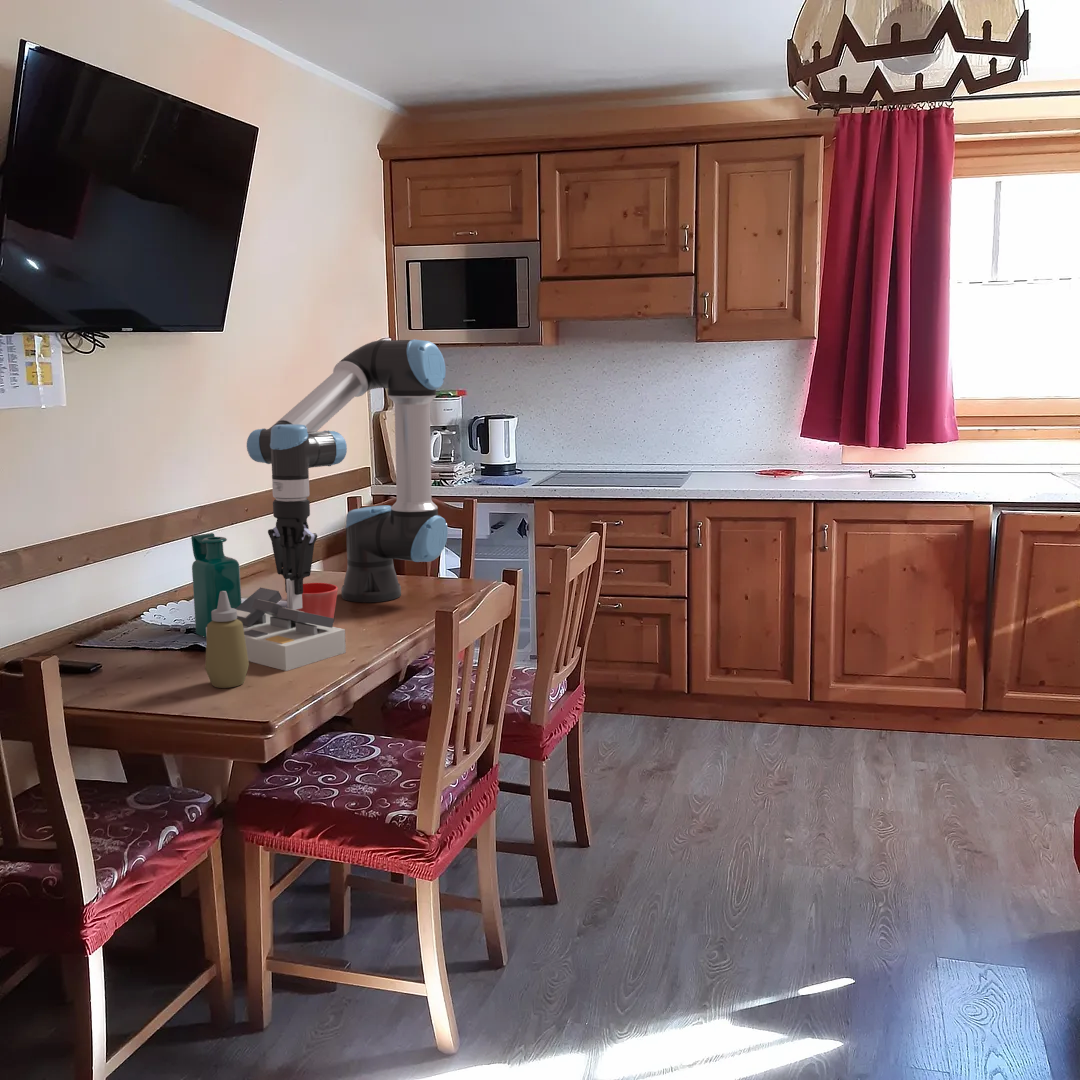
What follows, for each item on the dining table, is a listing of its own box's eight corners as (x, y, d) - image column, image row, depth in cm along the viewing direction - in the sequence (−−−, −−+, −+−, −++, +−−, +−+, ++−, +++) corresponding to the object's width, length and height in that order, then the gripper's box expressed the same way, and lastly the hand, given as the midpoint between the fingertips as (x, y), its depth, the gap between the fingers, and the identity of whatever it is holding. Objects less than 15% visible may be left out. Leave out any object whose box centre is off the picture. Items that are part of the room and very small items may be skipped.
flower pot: (328, 636, 234) (326, 594, 233) (282, 634, 237) (280, 591, 235) (346, 624, 245) (344, 583, 243) (301, 622, 247) (300, 581, 245)
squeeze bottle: (211, 678, 205) (205, 587, 202) (253, 677, 206) (249, 586, 202) (201, 691, 197) (195, 597, 194) (245, 690, 198) (240, 596, 194)
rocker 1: (264, 594, 233) (260, 587, 232) (282, 598, 229) (278, 590, 228) (231, 622, 226) (227, 614, 225) (249, 626, 223) (245, 618, 222)
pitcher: (246, 633, 237) (241, 536, 233) (212, 641, 231) (206, 541, 227) (223, 625, 244) (218, 531, 240) (189, 633, 238) (183, 536, 234)
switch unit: (267, 634, 237) (265, 604, 235) (345, 652, 222) (344, 621, 221) (207, 650, 224) (205, 619, 223) (286, 671, 209) (284, 637, 208)
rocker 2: (285, 620, 228) (289, 611, 229) (304, 625, 225) (307, 615, 225) (251, 608, 220) (254, 598, 221) (270, 612, 217) (274, 602, 217)
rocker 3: (312, 623, 224) (314, 613, 224) (332, 627, 220) (334, 617, 220) (276, 616, 216) (279, 606, 216) (296, 621, 212) (299, 610, 212)
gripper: (256, 498, 223) (260, 607, 226) (298, 503, 215) (302, 616, 219) (283, 494, 229) (287, 601, 232) (326, 499, 221) (329, 609, 225)
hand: (294, 608), depth 226 cm, fingers closed
